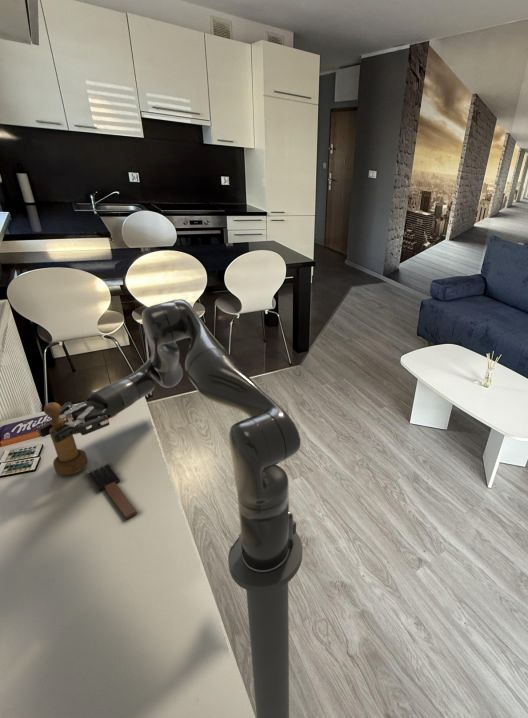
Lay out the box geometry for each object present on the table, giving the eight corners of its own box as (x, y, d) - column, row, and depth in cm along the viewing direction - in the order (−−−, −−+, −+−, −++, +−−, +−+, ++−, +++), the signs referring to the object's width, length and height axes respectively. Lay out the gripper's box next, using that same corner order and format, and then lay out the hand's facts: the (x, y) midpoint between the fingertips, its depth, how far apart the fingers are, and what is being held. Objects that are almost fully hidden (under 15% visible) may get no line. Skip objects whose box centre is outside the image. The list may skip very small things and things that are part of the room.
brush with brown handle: (142, 510, 87) (142, 507, 86) (121, 522, 84) (120, 519, 83) (108, 466, 98) (107, 464, 97) (88, 475, 94) (87, 473, 94)
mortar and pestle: (88, 469, 95) (68, 408, 87) (55, 479, 92) (30, 416, 83) (87, 452, 100) (68, 393, 92) (56, 461, 96) (33, 400, 88)
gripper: (91, 379, 103) (20, 414, 89) (132, 392, 99) (65, 432, 84) (98, 403, 106) (30, 440, 92) (138, 417, 102) (74, 458, 88)
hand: (47, 436), depth 88 cm, fingers closed on mortar and pestle, 4 cm apart
